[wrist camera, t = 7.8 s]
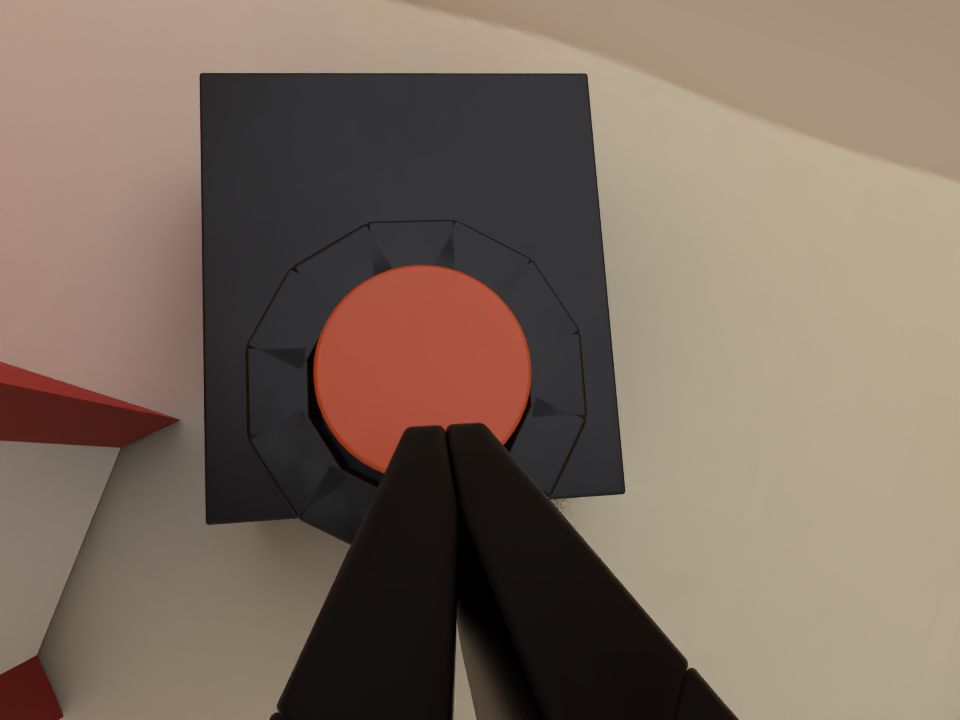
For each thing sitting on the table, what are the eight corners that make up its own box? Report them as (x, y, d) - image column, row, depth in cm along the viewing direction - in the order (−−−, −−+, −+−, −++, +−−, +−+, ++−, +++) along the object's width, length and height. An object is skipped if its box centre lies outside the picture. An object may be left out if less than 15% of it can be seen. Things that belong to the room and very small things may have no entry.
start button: (516, 471, 14) (540, 473, 12) (329, 484, 14) (316, 487, 11) (503, 292, 15) (524, 259, 12) (323, 299, 14) (308, 267, 12)
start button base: (574, 512, 21) (662, 537, 14) (253, 537, 20) (175, 577, 13) (545, 159, 22) (612, 22, 15) (244, 163, 21) (171, 17, 14)
